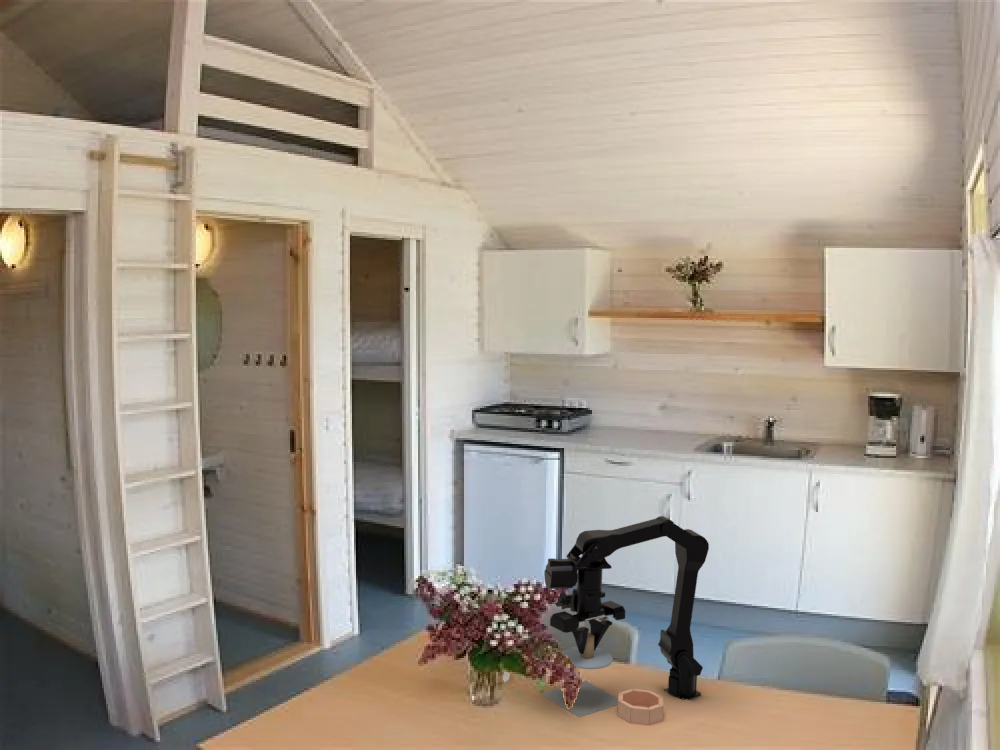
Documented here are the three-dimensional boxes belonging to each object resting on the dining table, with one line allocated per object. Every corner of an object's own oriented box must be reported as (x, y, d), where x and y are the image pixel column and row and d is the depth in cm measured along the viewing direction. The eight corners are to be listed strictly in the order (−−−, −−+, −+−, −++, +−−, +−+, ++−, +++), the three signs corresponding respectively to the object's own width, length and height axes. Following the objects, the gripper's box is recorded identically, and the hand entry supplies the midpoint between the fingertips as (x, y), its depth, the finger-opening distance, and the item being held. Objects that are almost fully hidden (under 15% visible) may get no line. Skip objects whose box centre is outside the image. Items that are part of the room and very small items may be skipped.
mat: (585, 682, 217) (585, 680, 217) (624, 704, 206) (625, 702, 206) (540, 695, 209) (540, 693, 209) (579, 719, 198) (579, 716, 198)
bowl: (640, 702, 207) (641, 685, 207) (671, 719, 199) (672, 702, 199) (608, 712, 201) (609, 695, 201) (639, 730, 193) (640, 712, 193)
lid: (589, 645, 215) (590, 622, 214) (623, 662, 205) (624, 638, 204) (550, 655, 208) (551, 632, 207) (583, 673, 198) (584, 649, 198)
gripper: (596, 571, 217) (594, 633, 218) (536, 583, 206) (534, 648, 207) (628, 583, 208) (625, 648, 209) (566, 597, 197) (564, 665, 198)
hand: (587, 651), depth 206 cm, fingers closed on lid, 3 cm apart
